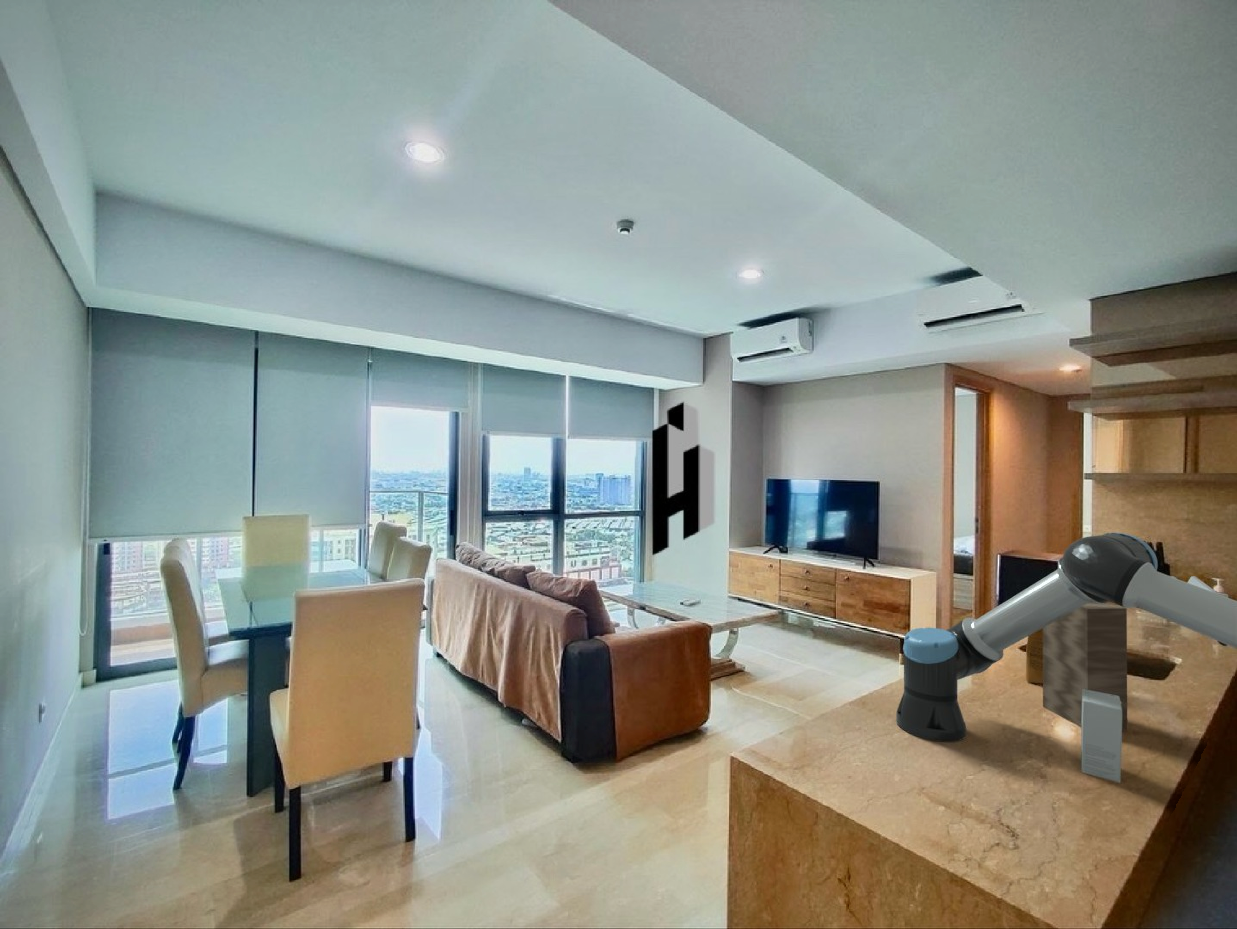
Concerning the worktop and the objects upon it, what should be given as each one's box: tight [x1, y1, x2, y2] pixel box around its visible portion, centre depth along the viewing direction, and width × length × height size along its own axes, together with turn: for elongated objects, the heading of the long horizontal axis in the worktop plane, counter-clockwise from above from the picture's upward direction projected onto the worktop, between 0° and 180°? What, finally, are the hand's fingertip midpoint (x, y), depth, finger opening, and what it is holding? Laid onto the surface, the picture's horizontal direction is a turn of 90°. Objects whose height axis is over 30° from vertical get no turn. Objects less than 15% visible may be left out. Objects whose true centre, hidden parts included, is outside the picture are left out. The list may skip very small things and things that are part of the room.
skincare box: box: [1080, 689, 1123, 784], centre depth 119 cm, size 8×7×16 cm
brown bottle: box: [1025, 628, 1043, 685], centre depth 170 cm, size 10×12×22 cm
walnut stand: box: [1042, 602, 1128, 731], centre depth 145 cm, size 14×10×30 cm
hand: (1179, 581), depth 121 cm, fingers closed on steel bar, 4 cm apart
